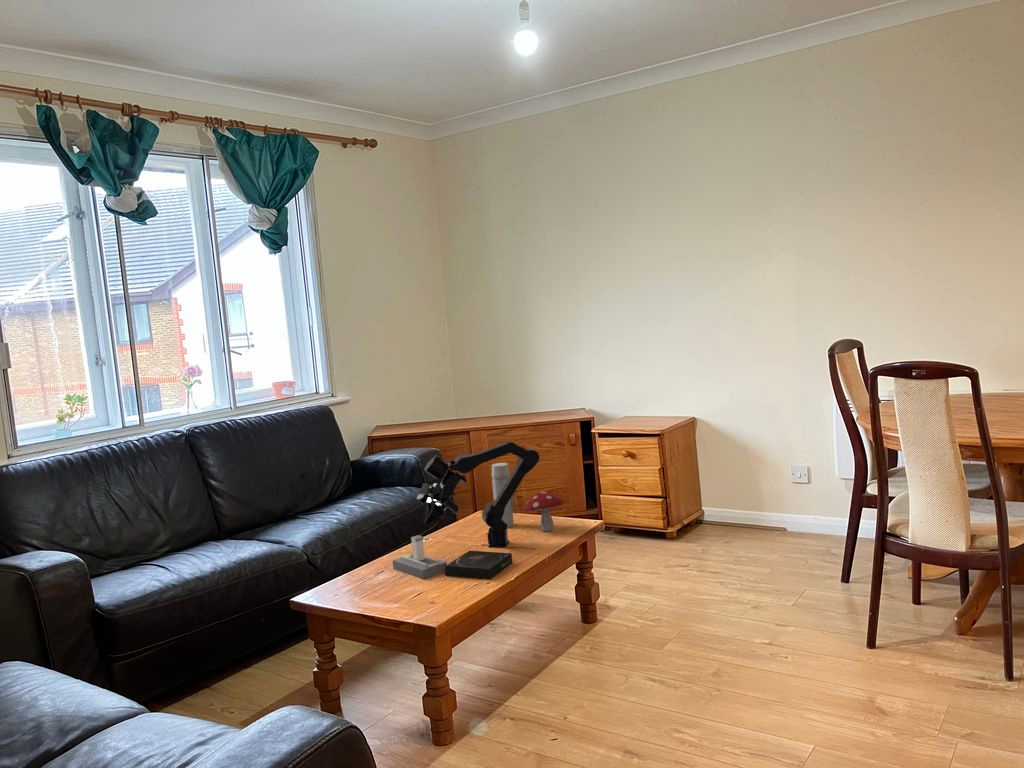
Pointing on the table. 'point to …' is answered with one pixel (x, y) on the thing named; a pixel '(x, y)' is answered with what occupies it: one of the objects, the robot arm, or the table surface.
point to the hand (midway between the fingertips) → (425, 523)
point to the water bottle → (499, 480)
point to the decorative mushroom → (544, 508)
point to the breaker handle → (418, 548)
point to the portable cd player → (478, 565)
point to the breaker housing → (419, 566)
